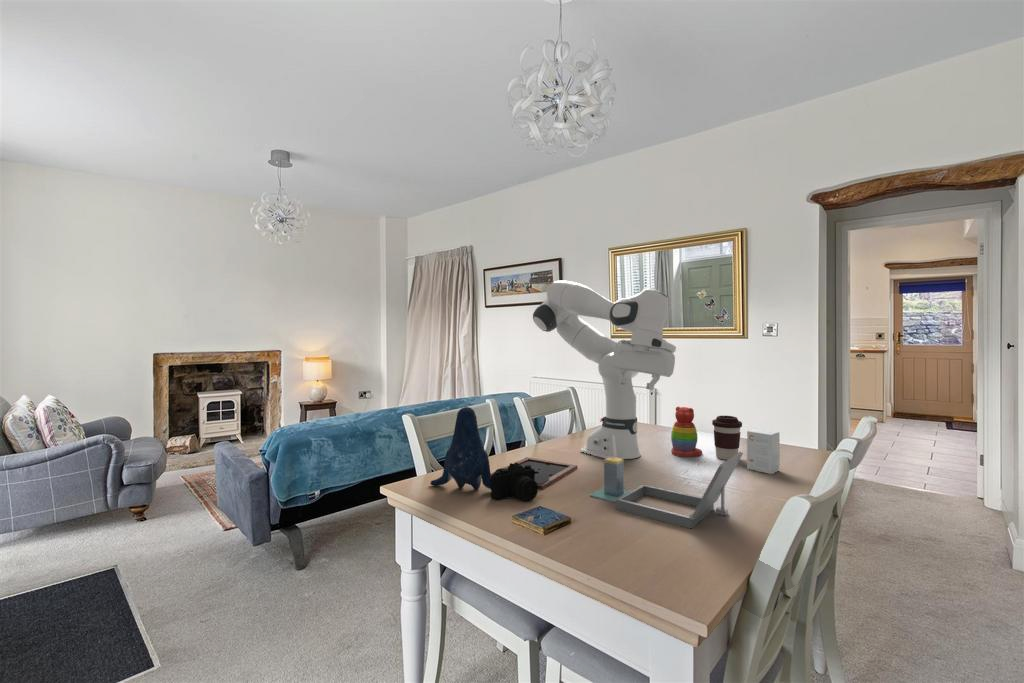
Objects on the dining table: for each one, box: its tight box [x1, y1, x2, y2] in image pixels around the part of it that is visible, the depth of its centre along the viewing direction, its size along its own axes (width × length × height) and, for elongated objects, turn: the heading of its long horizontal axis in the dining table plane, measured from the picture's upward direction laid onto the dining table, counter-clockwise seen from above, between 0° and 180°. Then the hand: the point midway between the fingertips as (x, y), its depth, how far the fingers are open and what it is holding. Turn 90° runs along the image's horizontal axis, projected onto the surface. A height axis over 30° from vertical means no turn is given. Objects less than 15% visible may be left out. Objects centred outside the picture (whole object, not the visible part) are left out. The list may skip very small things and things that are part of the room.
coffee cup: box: [711, 415, 743, 461], centre depth 177 cm, size 10×10×15 cm
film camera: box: [490, 461, 539, 501], centre depth 138 cm, size 15×10×9 cm, turn 122°
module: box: [603, 457, 625, 497], centre depth 139 cm, size 4×4×10 cm
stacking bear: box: [670, 406, 703, 458], centre depth 183 cm, size 11×10×18 cm
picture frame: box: [490, 456, 578, 491], centre depth 160 cm, size 20×2×25 cm
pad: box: [589, 487, 631, 504], centre depth 139 cm, size 10×10×1 cm
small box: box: [746, 428, 781, 475], centre depth 162 cm, size 8×6×13 cm
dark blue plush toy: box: [430, 406, 491, 491], centre depth 144 cm, size 25×11×25 cm, turn 73°
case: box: [615, 451, 744, 529], centre depth 126 cm, size 27×16×16 cm, turn 49°
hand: (636, 386), depth 146 cm, fingers open, 8 cm apart
